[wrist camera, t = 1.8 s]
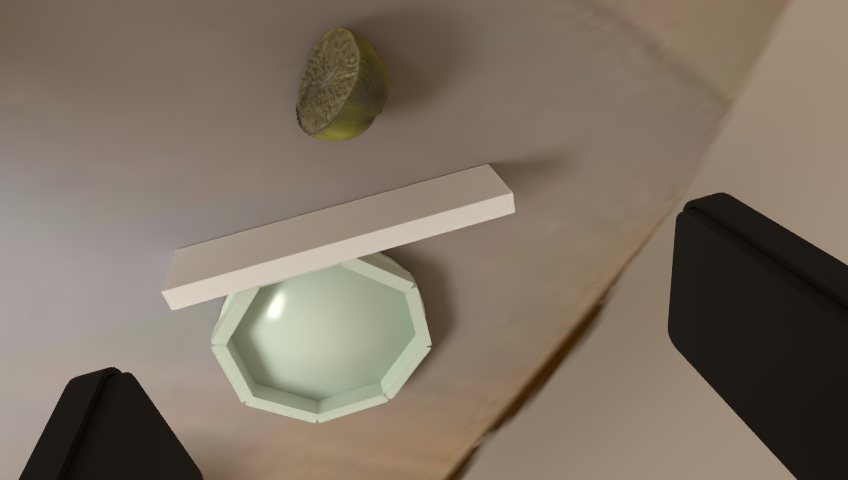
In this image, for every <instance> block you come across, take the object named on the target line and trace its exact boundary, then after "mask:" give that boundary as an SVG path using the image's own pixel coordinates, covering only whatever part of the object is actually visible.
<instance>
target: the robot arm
mask: <svg viewBox="0 0 848 480" xmlns="http://www.w3.org/2000/svg"><path fill="white" fill-rule="evenodd" d="M668 333H669V337H670V339H671V341H672V343H673V345H674V346H675V347H676V349H677V350H678V351H679V352H680V353H681V354H682V355H683V356H684V357H685V358H686V360H687V361H688V362H689V363H690V364H691V365H692V366H693V367H694V368H695V369H696V370H697V372H699V374H700V375H701V376H702V377H703V378H704V379H705V380H706V381H707V382H708V383H709V385H710V386H711V387H712V388H713V389H714V390H715V391H716V392H717V393H718V394H719V395H720V396H721V397H722V398H723V400H724V401H725V402H726V403H727V404H728V405H729V406H730V407H731V408H732V409H733V410H734V412H735V413H736V414H737V415H738V416H739V417H740V418H741V419H742V420H743V421H744V422H745V424H747V426H748V427H749V428H750V429H751V430H752V431H753V432H754V433H755V434H756V435H757V436H758V438H759V439H760V440H761V441H762V442H763V443H764V444H765V445H766V446H767V447H768V448H769V450H770V451H771V452H772V453H773V454H774V455H775V456H776V457H777V458H778V459H779V460H780V461H781V463H782V464H783V465H784V466H785V467H786V468H787V469H788V470H789V471H790V472H791V473H792V474H793V475H794V477H795V478H796V479H797V480H848V265H846V264H844V263H843V262H841V261H839V260H838V259H836V258H834V257H833V256H831V255H829V254H828V253H826V252H824V251H823V250H821V249H819V248H818V247H816V246H814V245H813V244H811V243H809V242H808V241H806V240H804V239H802V238H801V237H799V236H798V235H796V234H794V233H793V232H791V231H789V230H788V229H786V228H784V227H782V226H781V225H779V224H778V223H776V222H774V221H772V220H771V219H769V218H767V217H766V216H764V215H762V214H761V213H759V212H757V211H755V210H754V209H752V208H751V207H749V206H747V205H746V204H744V203H742V202H741V201H739V200H737V199H736V198H734V197H732V196H731V195H729V194H726V193H716V194H712V195H709V196H705V197H702V198H699V199H695V200H691V201H689V202H687V203H686V204H685V206H684V208H683V212H681V213H679V214H678V216H677V218H676V226H675V239H674V252H673V265H672V279H671V291H670V304H669V318H668ZM19 480H203V477H202V474H201V472H200V470H199V469H198V467H197V466H196V464H195V463H194V461H193V460H192V459H191V457H190V456H189V454H188V453H187V451H186V450H185V448H184V447H183V446H182V444H181V443H180V441H179V440H178V438H177V437H176V436H175V434H174V433H173V431H172V430H171V428H170V427H169V425H168V424H167V423H166V421H165V420H164V418H163V417H162V415H161V414H160V412H159V411H158V410H157V408H156V407H155V405H154V404H153V402H152V401H151V400H150V398H149V397H148V395H147V394H146V392H145V391H144V389H143V388H142V387H141V385H140V384H139V382H138V381H137V379H136V378H135V377H134V376H133V375H132V374H131V373H129V372H125V373H122V372H121V371H120V370H119V369H117V368H115V367H109V368H105V369H102V370H98V371H95V372H92V373H88V374H85V375H81V376H78V377H75V378H73V379H71V380H70V381H69V383H68V384H67V385H66V387H65V389H64V391H63V393H62V395H61V397H60V399H59V401H58V403H57V405H56V407H55V409H54V411H53V413H52V415H51V417H50V419H49V421H48V423H47V425H46V427H45V429H44V431H43V433H42V435H41V437H40V439H39V441H38V443H37V444H36V446H35V448H34V450H33V452H32V454H31V456H30V458H29V460H28V462H27V464H26V466H25V468H24V470H23V472H22V474H21V476H20V478H19Z"/></svg>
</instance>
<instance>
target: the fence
mask: <svg viewBox="0 0 848 480" xmlns="http://www.w3.org/2000/svg"><path fill="white" fill-rule="evenodd" d="M512 213H515V207H514V198H513V192H512V191H511V190H510V189H509V187H508V186H507V185H506V184H505V183H504V182H503V180H502V179H501V178H500V177H499V176H498V175H497V173H496V172H495V171H494V170H493V169H492V168H491V167H490V165H489V164H485V165H481V166H478V167H474V168H470V169H467V170H463V171H460V172H456V173H452V174H449V175H445V176H441V177H438V178H434V179H431V180H427V181H423V182H420V183H416V184H412V185H409V186H405V187H402V188H398V189H394V190H391V191H387V192H384V193H380V194H376V195H373V196H369V197H365V198H362V199H358V200H355V201H351V202H347V203H344V204H340V205H336V206H333V207H329V208H326V209H322V210H318V211H315V212H311V213H308V214H304V215H300V216H297V217H293V218H289V219H286V220H282V221H279V222H275V223H271V224H268V225H264V226H260V227H257V228H253V229H250V230H246V231H242V232H239V233H235V234H232V235H228V236H224V237H221V238H217V239H213V240H210V241H206V242H203V243H199V244H195V245H192V246H188V247H184V248H181V249H177V250H176V252H175V255H174V258H173V260H172V263H171V266H170V269H169V271H168V274H167V277H166V280H165V283H164V285H163V288H162V291H161V292H162V294H163V296H164V297H165V299H166V301H167V303H168V304H169V306H170V308H171V309H172V310H176V309H179V308H183V307H186V306H190V305H193V304H197V303H200V302H204V301H207V300H211V299H214V298H218V297H221V296H225V295H228V294H232V293H235V292H239V291H242V290H246V289H249V288H253V287H256V286H260V285H263V284H267V283H270V282H274V281H277V280H281V279H284V278H288V277H291V276H295V275H298V274H302V273H305V272H309V271H312V270H316V269H319V268H323V267H326V266H330V265H333V264H337V263H340V262H344V261H347V260H351V259H354V258H358V257H361V256H365V255H368V254H372V253H375V252H379V251H382V250H386V249H389V248H393V247H396V246H400V245H403V244H407V243H410V242H414V241H417V240H421V239H424V238H428V237H431V236H435V235H438V234H442V233H445V232H449V231H452V230H456V229H459V228H463V227H466V226H470V225H473V224H477V223H480V222H484V221H487V220H491V219H494V218H498V217H501V216H505V215H508V214H512Z"/></svg>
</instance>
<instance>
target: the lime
mask: <svg viewBox="0 0 848 480" xmlns="http://www.w3.org/2000/svg"><path fill="white" fill-rule="evenodd" d="M388 79H389V76H388V72H387V68H386V66H385V64H384V62H383V60H382V58H381V56H380V55H379V53H378V52H377V50H376V48H375V47H374V46H373V45H372V44H371V43H370V42H369V41H368V40H366V39H365V38H364V37H363V36H362V35H360V34H359V33H357V32H355V31H353V30H350V29H347V28H333V29H332V30H331V31H328V32H327V33H325V34H324V35H323V36H322V38H321V39H320V40H319V41H318V42H317V43H316V44H315V46H314V48H313V49H312V51H311V53H310V57H309V59H308V62H307V64H306V67H305V70H304V73H303V77H302V78H301V82H300V86H299V95H298V99H299V101H298V103H297V107H296V112H297V116H298V117H297V120H298V121H299V122H298V123H299V126H300V127H301V128H302V130H303V131H304V132H306V133H308V134H309V135H310V136H312V137H314V138H317V139H321V140H325V141H338V140H348V139H351V138H354V137H356V136H358V135H360V134H361V133H363V132H364V131H365V130H366V129H368V128H369V127H370V125H371V124H372V123H373V120H374V119H375V117H376V116H377V115H378V114H380V113H381V112H382V108H383V106H384V105H385V101H386V99H387V95H388V92H389V80H388Z"/></svg>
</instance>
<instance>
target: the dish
mask: <svg viewBox="0 0 848 480" xmlns="http://www.w3.org/2000/svg"><path fill="white" fill-rule="evenodd" d="M430 345H432V343H431V339H430V335H429V331H428V327H427V323H426V319H425V308H424V303H423V300H422V298H421V295H420V292H419V289H418V287H417V285H416V282H415V279H414V276H412V275H411V273H410V272H408V271H406V270H405V269H404V268H403V267H402V266H401V265H400V264H399V263H398V262H396V261H395V260H394V259H392V258H391V257H389V256H388V255H386V254H384V253H382V252H380V251H379V252H375V253H372V254H368V255H365V256H361V257H358V258H354V259H351V260H347V261H344V262H340V263H337V264H333V265H330V266H326V267H323V268H319V269H316V270H312V271H309V272H305V273H302V274H298V275H295V276H291V277H288V278H284V279H281V280H277V281H274V282H270V283H267V284H263V285H260V286H256V287H253V288H249V289H246V290H242V291H239V292H235V293H232V294H228V295H227V296H226V299H225V301H224V303H223V306H222V310H221V313H220V318H219V321H218V323H217V324H216V326H215V328H214V330H213V334H212V339H211V349H212V350H213V352H214V354H215V356H216V358H217V359H218V361H219V363H220V365H221V366H222V368H223V370H224V372H225V373H226V375H227V377H228V379H229V381H230V382H231V384H232V386H233V388H234V389H235V391H236V393H237V395H238V396H239V398H240V400H241V402H245V401H246V405H247V406H251V407H255V408H259V409H263V410H266V411H270V412H274V413H278V414H281V415H285V416H289V417H293V418H297V419H300V420H304V421H308V422H312V423H315V422H316V421H317V419H318V421H319V423H321V422H324V421H328V420H331V419H334V418H337V417H340V416H344V415H347V414H350V413H353V412H357V411H360V410H363V409H366V408H369V407H373V406H376V405H379V404H382V403H385V402H388V398H390V399H393V397H394V396H395V395H396V393H397V392H398V391H399V390H400V388H401V387H402V386H403V384H404V383H405V382H406V380H407V379H408V378H409V376H410V375H411V374H412V373H413V371H414V370H415V369H416V367H417V366H418V365H419V363H420V362H421V361H422V360H423V358H424V357H425V356H426V354H427V353H428V352H429V350H430V349H431V347H430Z"/></svg>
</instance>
